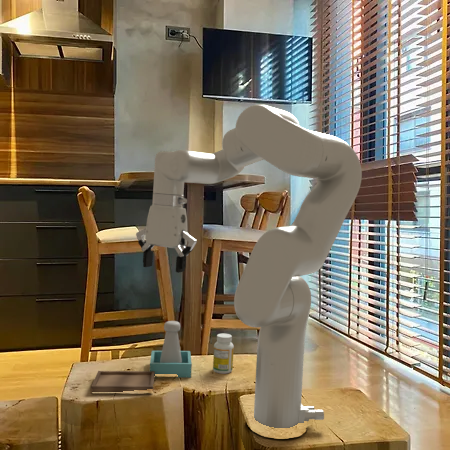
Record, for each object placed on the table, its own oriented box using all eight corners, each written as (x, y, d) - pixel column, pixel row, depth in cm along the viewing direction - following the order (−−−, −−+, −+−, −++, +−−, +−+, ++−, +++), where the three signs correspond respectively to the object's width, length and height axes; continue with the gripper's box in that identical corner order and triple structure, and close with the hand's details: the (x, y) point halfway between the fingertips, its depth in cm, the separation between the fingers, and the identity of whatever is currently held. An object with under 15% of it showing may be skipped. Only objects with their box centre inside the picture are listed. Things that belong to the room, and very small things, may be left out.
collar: (189, 363, 135) (190, 351, 135) (191, 377, 125) (191, 364, 125) (151, 363, 134) (151, 350, 134) (149, 377, 124) (149, 363, 123)
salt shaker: (180, 374, 126) (182, 325, 126) (158, 373, 127) (159, 324, 126) (182, 366, 132) (184, 319, 132) (161, 365, 132) (163, 318, 132)
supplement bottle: (222, 375, 127) (223, 339, 127) (208, 369, 131) (210, 334, 131) (236, 371, 131) (238, 336, 130) (223, 365, 135) (224, 331, 134)
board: (154, 378, 123) (154, 371, 123) (152, 394, 113) (152, 386, 113) (98, 377, 122) (98, 370, 122) (91, 394, 112) (91, 386, 112)
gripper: (205, 204, 121) (200, 272, 122) (147, 199, 128) (144, 263, 130) (190, 204, 114) (185, 276, 115) (130, 198, 122) (126, 266, 123)
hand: (163, 269), depth 123 cm, fingers open, 9 cm apart
